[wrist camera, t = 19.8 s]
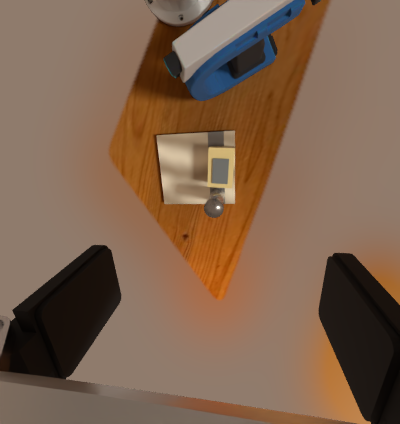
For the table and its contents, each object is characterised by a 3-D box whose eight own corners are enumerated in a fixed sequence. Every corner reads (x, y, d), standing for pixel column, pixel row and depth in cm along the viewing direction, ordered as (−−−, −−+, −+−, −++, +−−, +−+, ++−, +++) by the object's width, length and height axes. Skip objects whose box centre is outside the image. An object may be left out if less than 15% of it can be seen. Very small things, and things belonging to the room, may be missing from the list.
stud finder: (211, 145, 41) (208, 147, 37) (235, 146, 41) (234, 148, 37) (209, 182, 44) (207, 187, 40) (232, 183, 43) (232, 188, 39)
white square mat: (158, 135, 43) (156, 135, 42) (234, 130, 41) (234, 130, 40) (165, 202, 48) (164, 203, 47) (234, 202, 45) (234, 203, 44)
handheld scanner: (290, 55, 35) (344, -31, 17) (203, 107, 40) (173, 85, 22) (279, 25, 34) (325, -99, 16) (191, 83, 39) (150, 37, 21)
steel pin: (209, 187, 44) (203, 200, 36) (225, 185, 43) (222, 198, 35) (211, 202, 45) (205, 218, 37) (226, 201, 45) (224, 217, 36)
